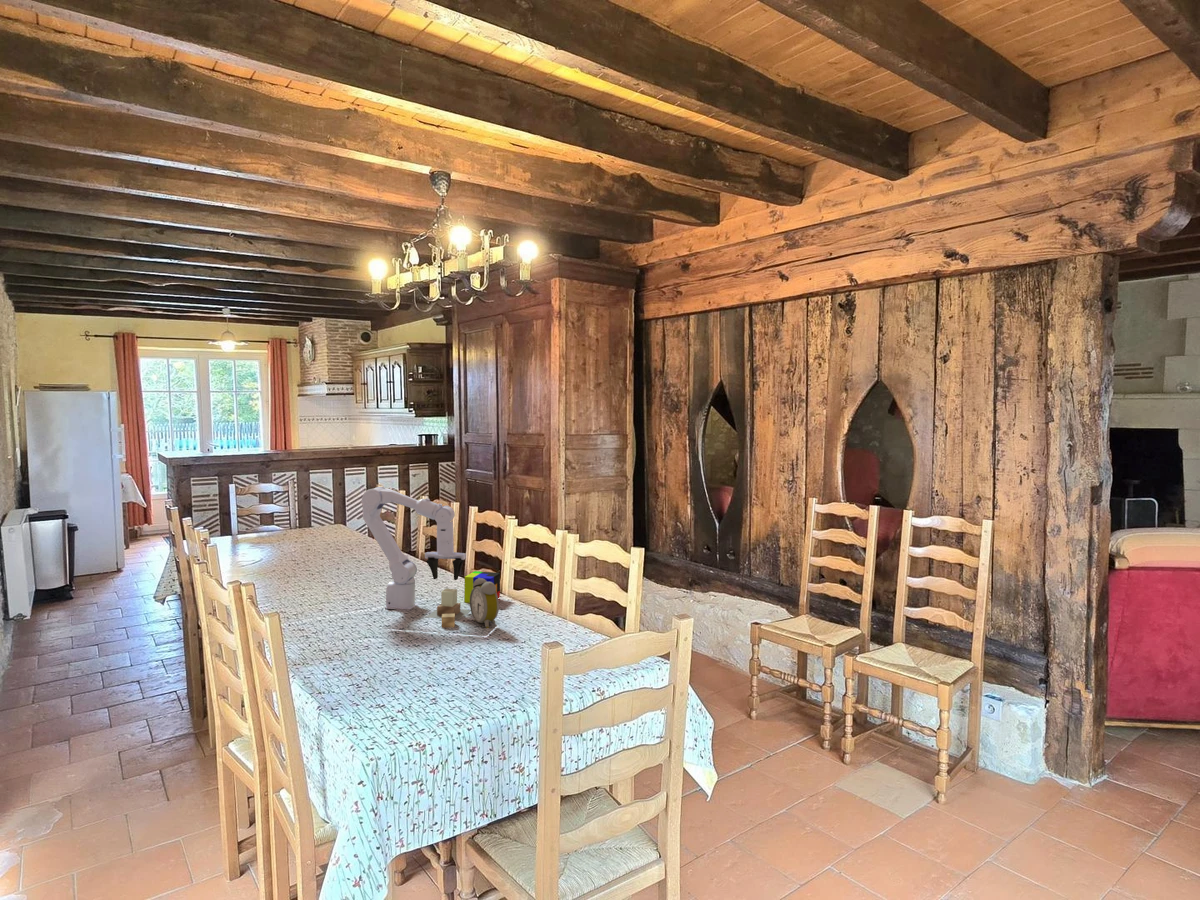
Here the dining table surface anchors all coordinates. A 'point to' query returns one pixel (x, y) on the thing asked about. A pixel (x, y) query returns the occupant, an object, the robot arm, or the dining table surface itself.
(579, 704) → the dining table surface
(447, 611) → the base block
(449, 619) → the ochre block
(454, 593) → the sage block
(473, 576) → the puzzle toy
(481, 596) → the alarm clock
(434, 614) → the build board
